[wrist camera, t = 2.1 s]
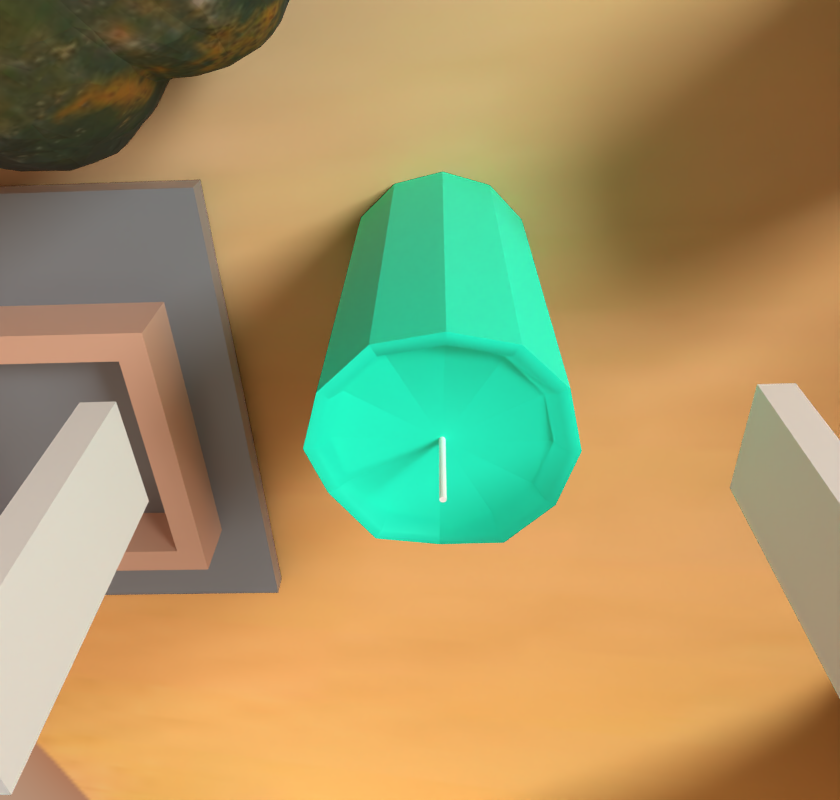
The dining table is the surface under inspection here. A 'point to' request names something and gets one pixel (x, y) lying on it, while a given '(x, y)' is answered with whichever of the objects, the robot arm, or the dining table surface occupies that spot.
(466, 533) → the candle
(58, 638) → the robot arm
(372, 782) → the dining table surface
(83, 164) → the squash
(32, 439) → the candle plate
